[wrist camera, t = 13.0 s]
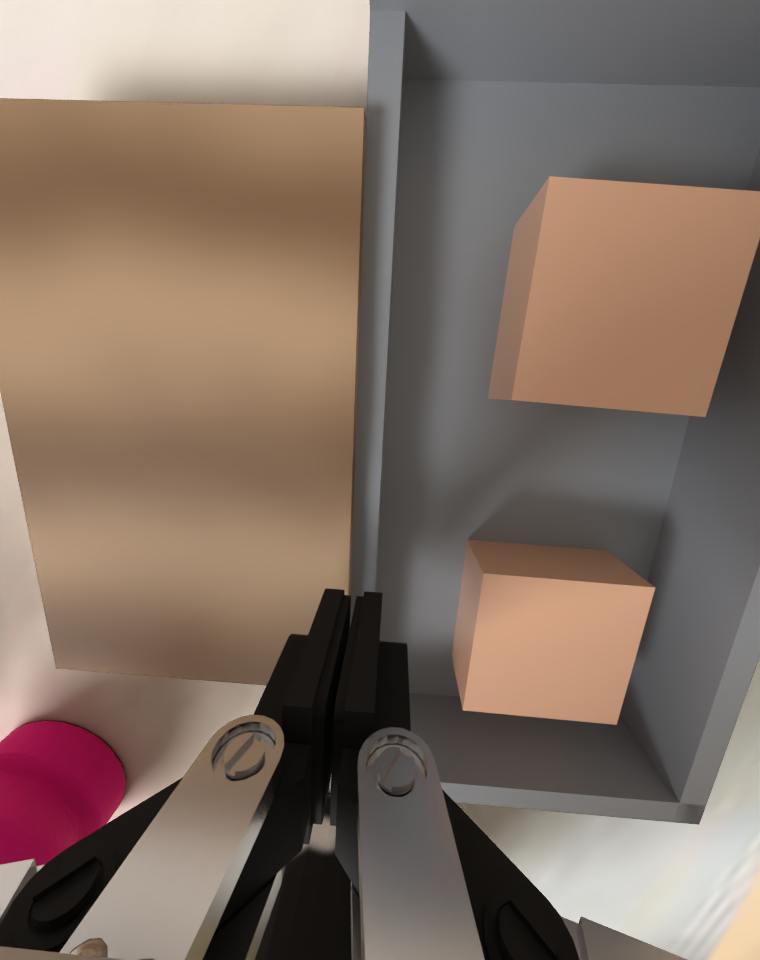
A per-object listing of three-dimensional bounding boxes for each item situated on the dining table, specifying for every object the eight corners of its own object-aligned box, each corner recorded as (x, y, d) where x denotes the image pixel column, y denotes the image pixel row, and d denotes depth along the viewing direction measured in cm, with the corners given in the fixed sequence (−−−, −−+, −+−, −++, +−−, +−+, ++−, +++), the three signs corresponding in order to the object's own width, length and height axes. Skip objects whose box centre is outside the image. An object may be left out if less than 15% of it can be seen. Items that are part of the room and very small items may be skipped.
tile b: (655, 587, 10) (606, 550, 13) (483, 573, 10) (467, 539, 13) (616, 724, 12) (578, 667, 14) (462, 710, 12) (451, 656, 14)
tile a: (773, 192, 8) (685, 239, 10) (549, 176, 8) (514, 226, 10) (705, 417, 9) (640, 412, 12) (511, 400, 9) (487, 398, 12)
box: (377, 62, 10) (365, -142, 6) (790, 71, 10) (1047, -140, 6) (353, 692, 15) (338, 792, 12) (621, 713, 15) (699, 824, 11)
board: (59, 173, 11) (-59, 96, 8) (372, 183, 11) (363, 107, 8) (121, 615, 15) (56, 668, 12) (355, 633, 15) (345, 691, 12)
